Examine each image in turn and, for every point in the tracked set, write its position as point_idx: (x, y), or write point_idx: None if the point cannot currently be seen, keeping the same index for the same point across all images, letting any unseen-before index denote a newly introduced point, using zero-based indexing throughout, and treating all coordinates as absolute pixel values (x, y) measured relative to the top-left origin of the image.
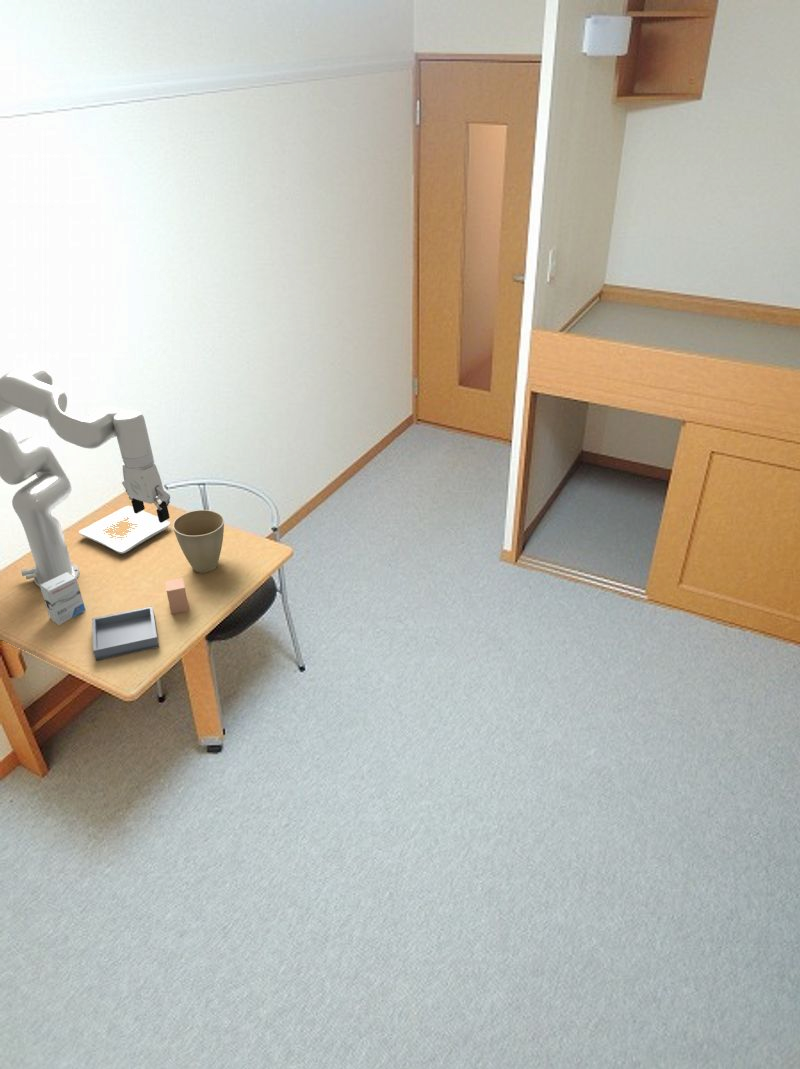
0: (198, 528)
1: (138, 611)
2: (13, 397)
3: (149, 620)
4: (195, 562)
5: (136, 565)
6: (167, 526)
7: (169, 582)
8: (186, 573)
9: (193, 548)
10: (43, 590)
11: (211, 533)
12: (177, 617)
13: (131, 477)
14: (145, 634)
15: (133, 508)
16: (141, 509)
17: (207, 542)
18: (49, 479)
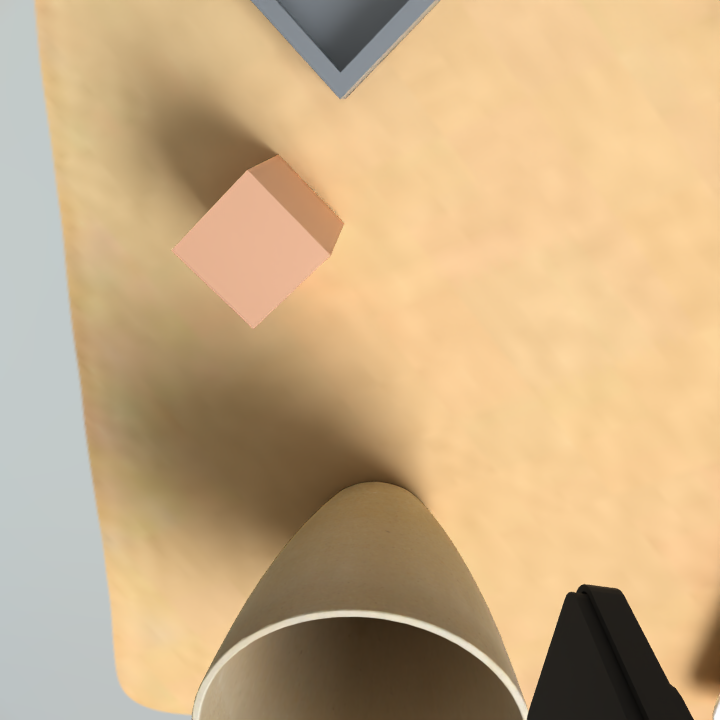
0: (448, 716)
1: (389, 22)
2: None
3: (323, 29)
4: (354, 502)
5: (707, 418)
6: (717, 701)
7: (295, 256)
8: (421, 454)
9: (320, 553)
10: None
11: (202, 682)
12: (227, 142)
13: None
14: None
15: (647, 661)
16: (547, 697)
17: (239, 616)
18: None
